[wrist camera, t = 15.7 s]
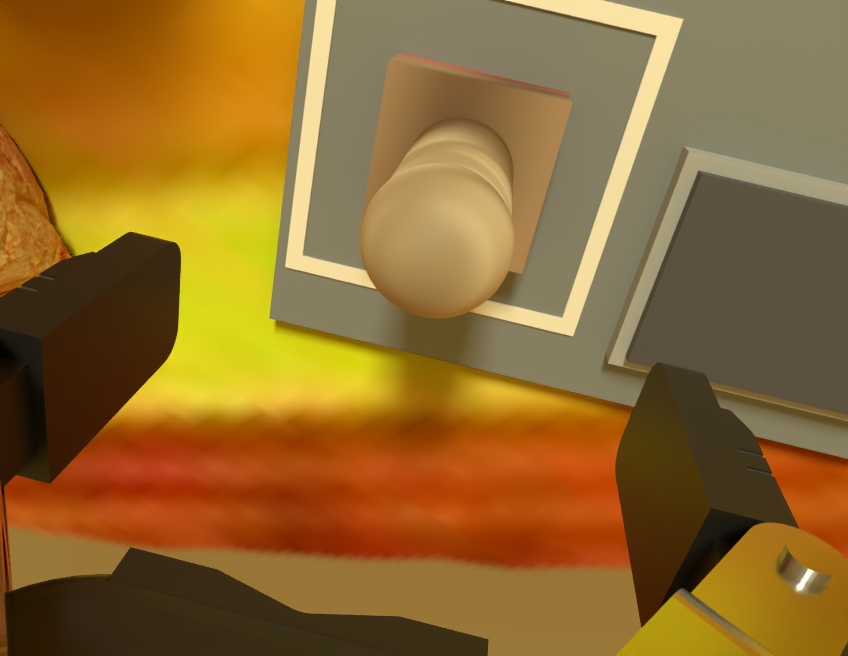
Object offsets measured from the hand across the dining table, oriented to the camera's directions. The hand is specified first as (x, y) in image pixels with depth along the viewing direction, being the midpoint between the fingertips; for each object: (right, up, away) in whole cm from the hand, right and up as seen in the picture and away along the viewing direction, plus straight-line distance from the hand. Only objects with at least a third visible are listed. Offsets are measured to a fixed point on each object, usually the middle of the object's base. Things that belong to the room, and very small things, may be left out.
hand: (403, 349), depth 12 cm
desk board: (+8, +7, +12) cm, 16 cm away
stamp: (+2, +6, +12) cm, 14 cm away
